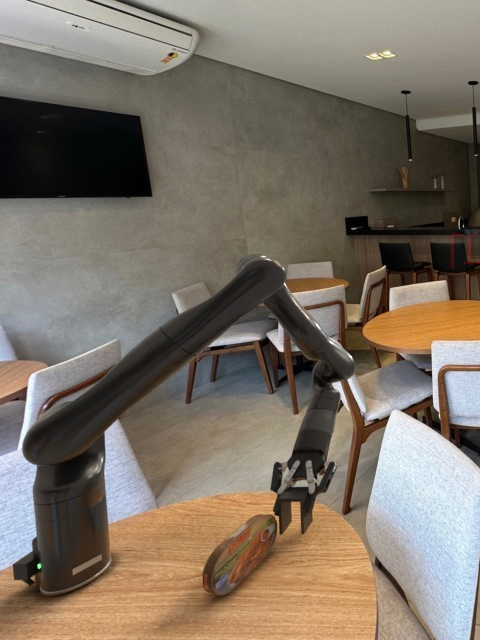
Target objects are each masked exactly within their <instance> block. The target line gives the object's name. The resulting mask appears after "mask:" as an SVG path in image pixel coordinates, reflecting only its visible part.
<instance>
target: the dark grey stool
mask: <svg viewBox="0 0 480 640" xmlns="http://www.w3.org/2000/svg"><path fill="white" fill-rule="evenodd" d="M307 495H309V487H308V486H293V487H288V488H287V489H286V490H285V491H284V492H283V493H282V495H281V496H280V497H279V498H278V510H279V516H278V532H279V535H281V536H282V535H283V534H284V533H285V531H286V530H287V529H288V528H289V526H290V525H291V523H292V522H293V515H292V514H293V513H292V512H293V511H292V503H299V509H300V511H299V513H300V535H305V533H306V532H307V530H308V529H309V528H310V527H311V524H312V523H313V522H314V521H313V519H314V517H313V516H314V515H313V511H312V512H311V513H309V515H308V516H304V515H302V511H303V508H304V504H305V501H306V497H307Z"/></svg>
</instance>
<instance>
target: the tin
mask: <svg viewBox="0 0 480 640" xmlns="http://www.w3.org/2000/svg"><path fill="white" fill-rule="evenodd" d="M277 535H278V521H277V518H276V516H275V515H274V514H271V513H268V514H265V513H264V514H261V513H260V514H255V515H253V516H251V517H250V518H249V519H247V520H246V521H245V522H243V524H242V525H240V526H239V527H238V528H237V529H236V530H235V531H234V532H232V533H231V534H230V535H229V536H228V537H227V538H225V539H224V540H223V541H222V542H221V543H220V544H218V545H217V546H216V547H215V548H214V549H213V551H212V552H211V553H210V555H209V556H208V558H207V560H206V562H205V565H204V567H203V570H202V586H203V589H204V592H206V593H208V594H214V595H217V596H225V595H227V594H229V593H230V592H232V591H233V590H234V589H236V588H237V587H238V586H239V585H240V584H241V583H242V582H243V580H245V578H246V577H247V576H248V575H249V574H250V573H251V572H252V571H254V569H256V567H258V565H260V563H261V562H262V561H263V560H264V559H265V558H266V557H267V556H268V555H269V554H270V552H271V550H272V548H273V547H274V544H275V541H276V540H277V539H276V538H277Z"/></svg>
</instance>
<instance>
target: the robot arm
mask: <svg viewBox="0 0 480 640" xmlns="http://www.w3.org/2000/svg"><path fill="white" fill-rule="evenodd" d="M286 280H287V273H286V270H285V267H284V266H283V265H282V263H280V262H278V261H277V260H276V259H275V258H273V257H271V256H268V255H266V254H261V253H253V254H248V255H246V256H244V257H242V258H241V259H240V260H239V261H238V262H237V264H236V266H235V268H234V277H233V278H232V279H231V280H230V281H229V282H228V283H227V284H225V285H224V286H223V287H222V288H221V289H220V290H218V291H217V292H216V293H215V294H213V295H212V296H210V297H209V298H207V299H206V300H204V301H202V302H200V303H197V304H196V305H193V306H192V307H190V308H188V309H185V310H184V311H181V312H180V313H177V314H176V315H175V316H173V317H171V318H170V319H168V320H167V321H165V322H164V323H162V324H161V325H160V326H159V327H157V328H156V329H155V330H153V331H152V332H151V333H149V334H148V335H146V336H145V337H144V338H143V339H142V340H140V341H139V342H138V343H137V344H135V345H134V347H132V348H131V349H130V350H129V351H128V352H127V353H126V354H125V355H124V356H122V357H121V358H120V359H119V360H118V362H117V363H115V365H114V366H112V368H110V369H109V371H108V372H107V373H106V374H105V375H104V376H103V377H102V378H101V379H99V381H98V382H96V383H95V384H94V385H92V386H91V387H90V388H89V389H88V390H86V391H84V392H83V393H82V394H80V395H79V396H78V397H76V398H75V399H73V400H67V401H63V402H61V403H58V404H56V405H54V406H52V407H50V408H48V409H47V410H46V411H44V412H43V413H42V414H41V415H40V416H39V418H38V419H36V421H35V422H34V423H33V424H32V425H31V426H30V428H29V429H28V430H27V431H26V433H25V435H24V437H23V440H22V444H21V452H22V456H23V458H24V459H25V460H26V462H28V463H29V464H32V465H35V466H36V471H35V477H34V482H33V484H32V501H33V510H34V521H35V522H34V523H35V533H36V536H35V537H33V539H32V540H31V549H32V551H30V552H29V553H27V554H26V555H24V556H23V557H21V558H20V559H18V560H17V561H16V562H14V563H13V564H12V572H13V580H14V581H22V582H24V583H25V584H26V585H28V586H29V587H31V586H33V585H34V584H35V589H36V590H39V591H40V593H41V595H43V596H47V597H53V596H60V595H65V594H67V593H70V592H73V591H75V590H78V589H80V588H83V587H84V586H86V585H88V584H90V583H91V582H93V581H95V580H96V579H98V578H99V577H100V576H102V575H103V574H104V573H105V572H106V571H107V570H108V569H109V567H110V566H111V564H112V560H113V558H112V554H111V543H110V528H109V515H108V502H107V500H108V499H107V490H106V489H107V487H106V477H105V469H106V468H105V467H106V459H107V458H106V457H107V456H106V455H107V454H106V431H107V430H109V428H110V427H111V426H113V425H114V424H115V423H116V422H117V421H118V420H119V419H120V418H121V417H122V416H123V415H124V414H126V412H127V411H129V410H130V409H131V408H132V407H134V406H135V405H136V404H138V402H140V401H142V400H143V399H145V398H146V397H147V396H148V395H150V394H151V393H153V392H154V391H155V390H157V389H158V388H159V387H160V386H162V385H163V384H165V383H166V382H167V381H169V380H170V379H171V378H172V377H174V376H175V375H176V374H178V373H179V372H180V371H181V370H183V369H184V368H185V367H186V366H187V365H189V364H190V363H191V362H192V361H193V360H195V359H196V358H197V357H198V356H200V355H201V354H202V353H203V352H204V351H205V350H206V349H207V348H208V347H210V346H211V345H212V344H213V343H214V342H215V341H217V340H218V339H220V337H221V336H223V334H225V333H226V332H227V331H228V330H229V329H230V328H232V326H233V325H235V324H236V323H237V322H238V321H239V320H241V319H242V318H244V316H246V315H247V314H249V313H250V312H251V311H253V310H255V309H256V308H258V307H259V306H261V305H263V306H264V307H265V308H266V309H267V310H268V311H269V312H270V313H271V315H272V316H273V318H274V319H276V321H277V322H278V324H279V325H280V326H281V328H282V329H283V331H284V332H285V333H286V335H287V336H288V337H289V339H290V341H292V343H293V344H294V345H295V346H296V348H297V349H298V350H299V351H300V352H301V354H302V355H303V356H304V357H305V358H306V359H308V360H309V361H317V362H316V363H315V365H314V366H313V369H312V372H311V373H312V374H311V396H310V399H309V401H308V405H307V408H306V411H305V414H304V416H303V417H302V421H301V423H300V425H299V429H298V433H297V435H296V438H295V442H294V445H293V447H292V451H291V456H290V457H289V458H288V460H287V461H282V462H280V461H275V462H274V464H273V468H272V475H271V480H270V491H271V492H273V493H275V494H276V497H275V502H274V505H273V508H272V511H273V516H274V517H279V510H278V498H279V497H280V496H281V495H282V493H283V492H284V491H285V490H286V489H287V488H288V487H295V485H296V484H297V483H298V482H300V481H306V483H307V487H309V495H307V497H306V501H305V504H304V508H303V511H302V515H304V516H308V515H309V513H311V512H312V513H313V511H314V506H315V503H316V499H317V497H318V495H321V494H325V493H326V492H328V490H329V487H330V486H331V483H332V480H333V478H334V476H335V474H336V471H337V469H338V467H339V466H338V464H337V463H336V462H334V461H328V460H327V455H328V452H329V448H330V445H331V441H332V438H333V435H334V432H335V427H336V418H337V415H338V411H339V407H340V404H341V398H342V394H341V392H340V391H339V390H338V389H335V388H332V385H333V383H334V384H335V383H339V382H345V381H347V380H350V379H351V378H353V376H354V375H355V373H356V368H357V367H356V361H355V359H354V357H353V356H352V355H351V354H350V352H349V351H347V350H346V349H345V348H344V347H342V346H341V345H339V344H338V343H337V342H335V341H333V340H332V339H331V338H330V337H329V335H328V334H327V333H326V331H325V330H324V329H323V328H322V326H321V325H320V324H319V322H318V321H317V319H315V318H314V317H313V316H312V315H311V313H309V312H308V310H307V309H306V308H305V307H304V306H303V305H302V304H301V303H300V302H299V301H298V299H297V298H296V297H295V296H294V295H293V293H292V292H291V290H290V289H289V288H288V286H287V285H286ZM287 469H288V473H287V474H286V476H285V478H284V479H283V476H284V473H285V472H286V470H287ZM322 470H324V474H323V475H322V478H321V480H320V482H319V473H320V472H322ZM33 577H34V579H32V578H33Z"/></svg>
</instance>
